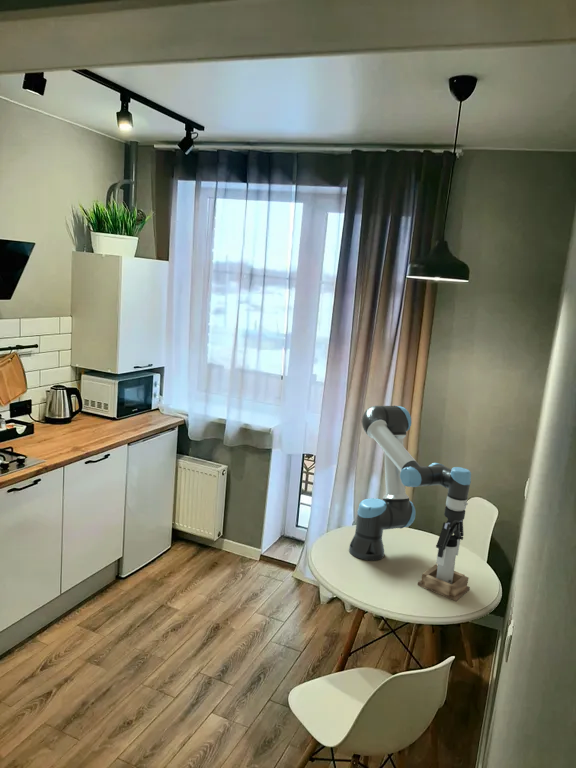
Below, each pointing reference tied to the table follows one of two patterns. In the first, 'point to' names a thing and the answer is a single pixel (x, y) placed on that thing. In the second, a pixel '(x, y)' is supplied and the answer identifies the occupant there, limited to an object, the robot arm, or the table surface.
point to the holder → (445, 584)
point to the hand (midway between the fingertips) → (447, 559)
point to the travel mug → (448, 561)
